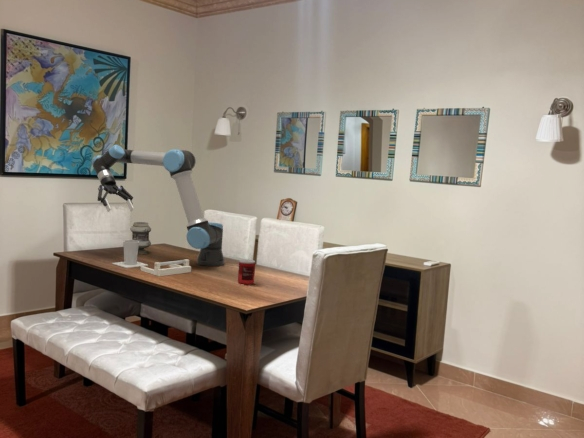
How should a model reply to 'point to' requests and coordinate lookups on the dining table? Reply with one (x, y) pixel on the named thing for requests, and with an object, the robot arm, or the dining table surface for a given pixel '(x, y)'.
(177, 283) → the dining table surface
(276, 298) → the dining table surface
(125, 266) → the mat
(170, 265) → the dispenser bay
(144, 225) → the apothecary jar
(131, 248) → the cup
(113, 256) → the dining table surface
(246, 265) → the canned food
